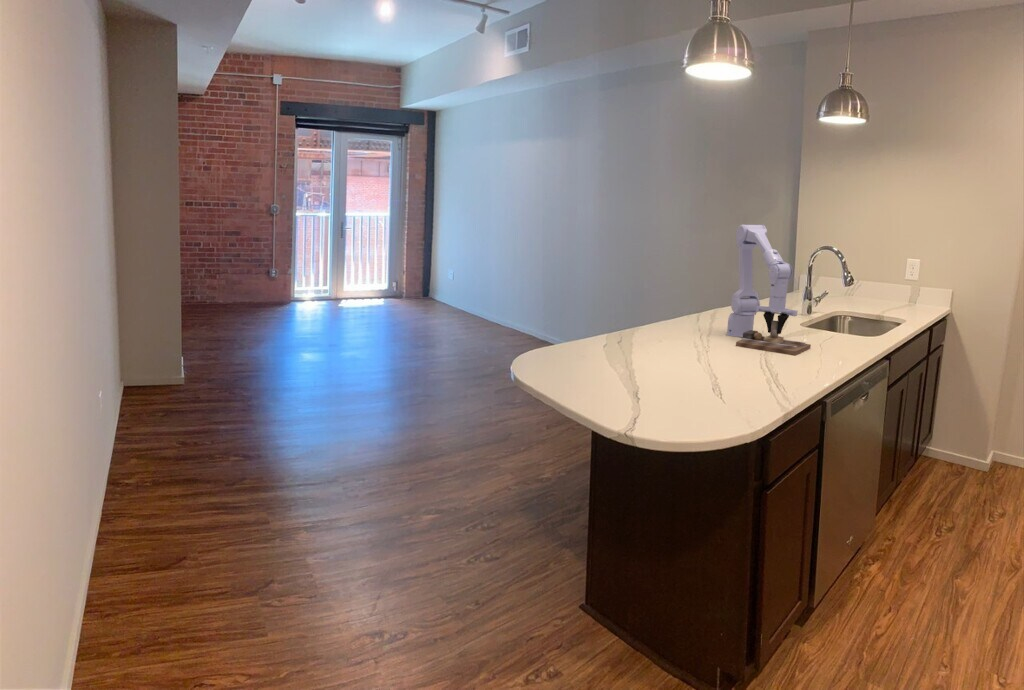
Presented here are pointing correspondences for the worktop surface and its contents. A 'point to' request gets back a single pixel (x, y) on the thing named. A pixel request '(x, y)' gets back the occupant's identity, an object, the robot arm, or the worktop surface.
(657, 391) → the worktop surface
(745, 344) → the board
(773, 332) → the press ram
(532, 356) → the worktop surface
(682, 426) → the worktop surface
